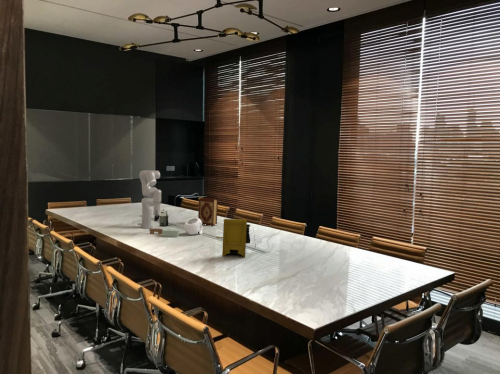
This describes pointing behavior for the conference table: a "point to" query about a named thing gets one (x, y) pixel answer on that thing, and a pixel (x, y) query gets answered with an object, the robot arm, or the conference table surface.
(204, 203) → the decorative book
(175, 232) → the pale green box
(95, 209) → the conference table surface
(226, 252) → the olive boxy piece
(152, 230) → the wooden staple shape
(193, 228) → the skull planter
